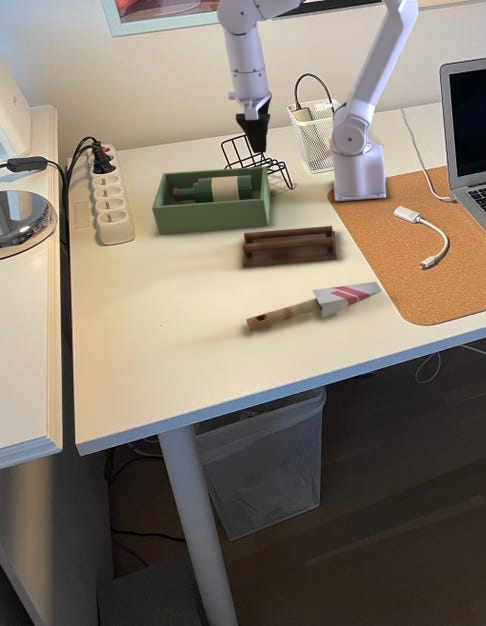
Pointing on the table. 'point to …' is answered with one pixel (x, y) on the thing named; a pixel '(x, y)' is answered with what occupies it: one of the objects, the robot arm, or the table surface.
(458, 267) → the table surface
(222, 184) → the bottle
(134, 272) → the table surface
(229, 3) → the robot arm
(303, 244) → the rack
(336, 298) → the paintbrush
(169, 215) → the basket
